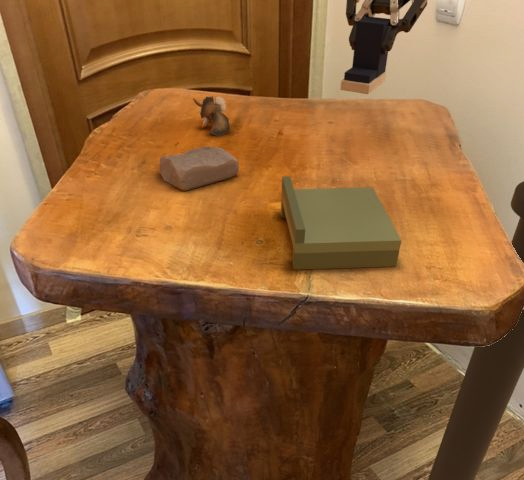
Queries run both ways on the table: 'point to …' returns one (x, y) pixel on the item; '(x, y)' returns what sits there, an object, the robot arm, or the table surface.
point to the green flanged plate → (338, 228)
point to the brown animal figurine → (214, 114)
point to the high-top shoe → (367, 57)
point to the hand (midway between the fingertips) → (368, 48)
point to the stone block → (198, 167)
